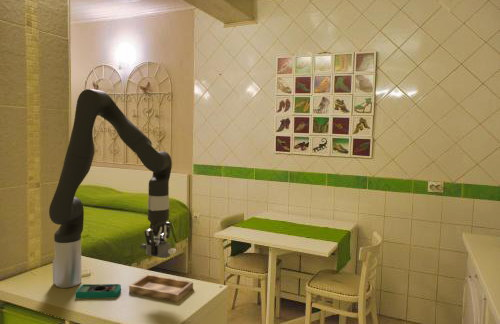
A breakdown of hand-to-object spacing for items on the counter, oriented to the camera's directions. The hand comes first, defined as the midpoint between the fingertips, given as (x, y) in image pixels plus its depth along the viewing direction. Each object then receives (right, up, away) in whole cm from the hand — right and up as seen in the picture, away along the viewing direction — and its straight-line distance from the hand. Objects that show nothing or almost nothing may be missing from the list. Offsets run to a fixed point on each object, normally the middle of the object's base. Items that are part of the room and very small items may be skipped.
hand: (158, 253), depth 143 cm
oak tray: (0, -15, +4) cm, 16 cm away
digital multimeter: (-22, -15, 0) cm, 27 cm away
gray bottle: (0, 0, 0) cm, 1 cm away
